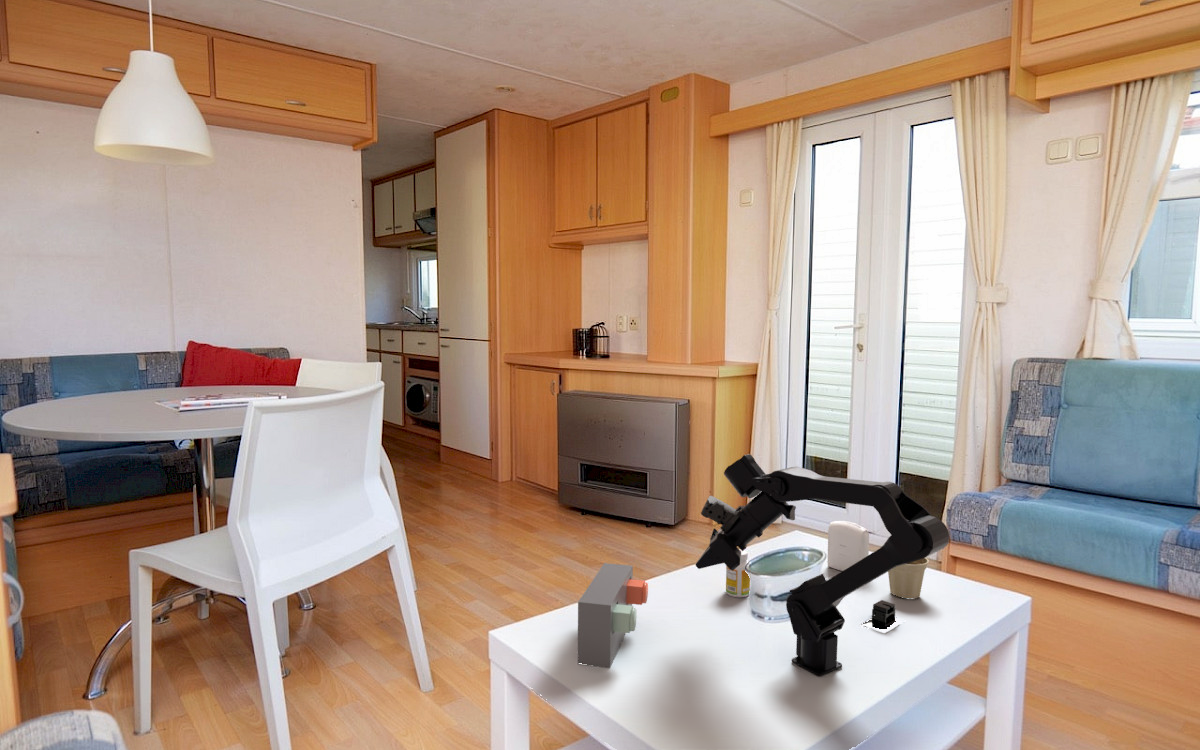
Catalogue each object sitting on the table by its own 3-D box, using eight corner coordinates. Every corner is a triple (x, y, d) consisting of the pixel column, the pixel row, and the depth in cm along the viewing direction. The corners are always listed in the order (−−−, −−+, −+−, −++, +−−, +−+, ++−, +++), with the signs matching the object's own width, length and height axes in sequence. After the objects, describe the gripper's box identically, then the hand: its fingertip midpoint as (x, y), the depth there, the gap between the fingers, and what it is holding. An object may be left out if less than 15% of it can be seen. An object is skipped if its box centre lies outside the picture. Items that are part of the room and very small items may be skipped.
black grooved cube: (884, 641, 138) (885, 618, 138) (850, 628, 144) (851, 606, 143) (913, 623, 146) (914, 601, 146) (880, 611, 152) (881, 591, 151)
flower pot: (873, 589, 163) (874, 553, 163) (906, 585, 166) (908, 549, 165) (902, 605, 154) (903, 566, 154) (936, 600, 157) (938, 562, 156)
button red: (647, 598, 142) (648, 579, 142) (644, 606, 138) (644, 586, 138) (625, 596, 143) (625, 577, 143) (621, 604, 139) (622, 584, 139)
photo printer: (824, 566, 178) (826, 519, 177) (834, 563, 181) (836, 516, 180) (860, 578, 170) (862, 528, 169) (870, 575, 173) (872, 525, 172)
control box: (631, 619, 145) (632, 565, 144) (610, 668, 125) (610, 605, 124) (603, 616, 146) (604, 563, 146) (577, 664, 126) (578, 602, 125)
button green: (636, 625, 129) (636, 604, 129) (632, 635, 125) (632, 613, 125) (612, 623, 130) (612, 602, 130) (607, 632, 126) (607, 610, 126)
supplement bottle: (748, 589, 162) (749, 548, 162) (751, 598, 157) (752, 556, 156) (724, 588, 163) (725, 547, 162) (726, 597, 157) (727, 555, 157)
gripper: (730, 474, 144) (675, 522, 147) (723, 496, 126) (661, 550, 129) (768, 515, 142) (712, 562, 146) (766, 543, 124) (702, 596, 128)
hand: (697, 566), depth 137 cm, fingers closed
